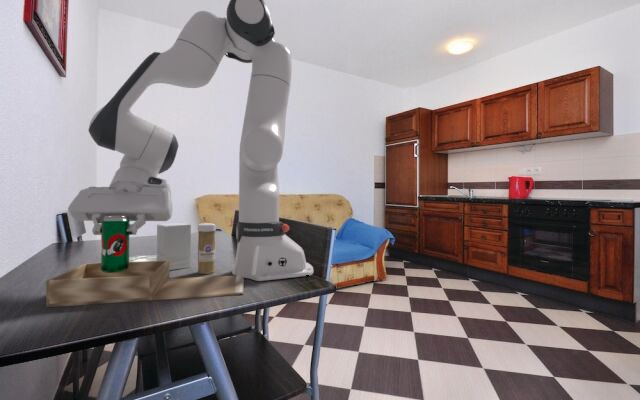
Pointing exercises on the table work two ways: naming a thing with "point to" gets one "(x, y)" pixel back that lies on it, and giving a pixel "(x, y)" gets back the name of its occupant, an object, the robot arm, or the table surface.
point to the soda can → (114, 244)
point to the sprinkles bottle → (206, 248)
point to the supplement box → (174, 244)
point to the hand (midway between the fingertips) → (114, 233)
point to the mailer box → (133, 285)
